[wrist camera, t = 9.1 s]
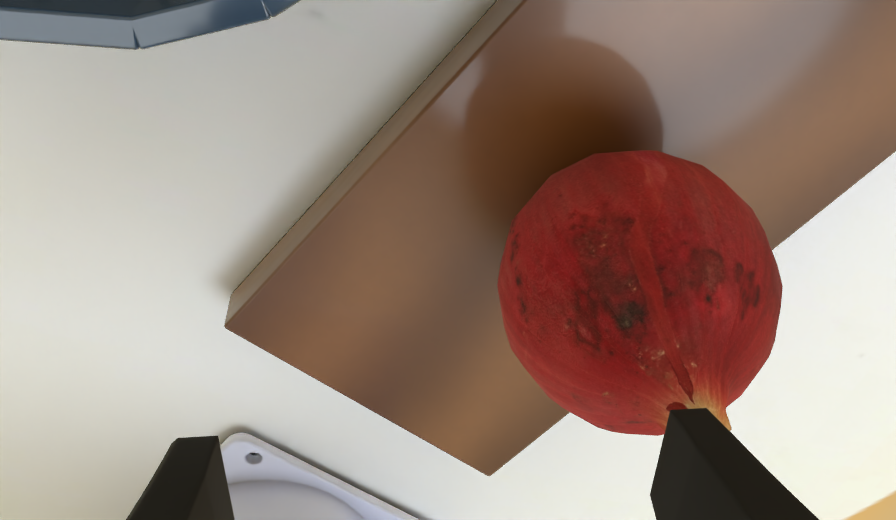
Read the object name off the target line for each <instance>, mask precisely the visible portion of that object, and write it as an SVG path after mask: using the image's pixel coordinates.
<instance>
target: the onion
mask: <svg viewBox="0 0 896 520" xmlns="http://www.w3.org/2000/svg"><path fill="white" fill-rule="evenodd" d="M497 287H498V293H499V299H500V305H501V311H502V317H503V324H504V328H505V331H506V334H507V338H508V341H509V344H510V347H511V349H512V351H513V352H514V354H515V355H516V356H517V358H518V359H519V361H520V362H521V364H522V365H523V367H524V368H525V369H526V370H527V371H528V373H529V374H530V375H531V376H532V378H533V379H534V380H535V381H536V382H537V384H538V385H539V386H540V387H541V389H542V390H543V391H544V392H545V393H546V395H547V396H548V397H549V398H550V399H552V400H553V401H554V402H556V403H557V404H558V405H560V406H561V407H562V408H564V409H566V410H567V411H569V412H571V413H573V414H575V415H576V416H578V417H580V418H582V419H584V420H585V421H587V422H589V423H591V424H593V425H595V426H596V427H598V428H602V429H605V430H608V431H612V432H618V433H625V434H640V435H657V436H658V435H663V434H665V430H666V425H667V421H668V417H669V413H670V410H677V409H695V408H707V409H708V410H709V411H710V412H711V413H712V414H713V415H714V416H715V417H716V418H717V419H718V420H719V421H720V422H721V423H722V424H723V425H724V426H725V427H726V428H727V429H728V430H729V431H730V430H731V426H730V423H729V420H728V417H727V414H726V407H727V406H728V405H730V404H731V403H732V402H733V401H735V400H736V399H737V398H738V397H740V396H741V395H742V394H743V392H744V391H745V389H746V388H747V387H748V385H749V384H750V383H751V381H752V380H753V379H754V377H755V376H756V375H757V373H758V372H759V370H760V369H761V368H762V366H763V365H764V363H765V362H766V360H767V359H768V357H769V355H770V353H771V350H772V347H773V344H774V341H775V336H776V330H777V325H778V319H779V313H780V308H781V298H782V283H781V279H780V274H779V270H778V266H777V263H776V260H775V258H774V255H773V252H772V250H771V247H770V244H769V241H768V239H767V236H766V233H765V231H764V229H763V227H762V225H761V224H760V222H759V220H758V218H757V216H756V215H755V213H754V211H753V209H752V208H751V207H750V206H749V205H748V204H747V203H746V202H745V201H744V200H743V199H742V198H741V197H740V196H739V195H737V194H736V193H735V192H734V191H733V190H732V189H731V188H730V187H729V186H728V185H727V184H726V183H725V182H724V181H723V180H722V179H720V178H719V177H718V176H716V175H715V174H714V173H712V172H711V171H710V170H708V169H707V168H706V167H704V166H703V165H700V164H697V163H694V162H691V161H688V160H685V159H681V158H678V157H675V156H672V155H669V154H666V153H663V152H660V151H651V150H639V151H624V152H609V153H594V154H592V155H590V156H588V157H586V158H584V159H582V160H580V161H578V162H576V163H574V164H572V165H570V166H568V167H566V168H564V169H562V170H560V171H558V172H556V173H554V174H552V175H551V176H550V177H549V178H548V179H547V180H546V181H545V183H544V184H543V185H542V186H541V187H540V188H539V190H538V191H537V192H536V193H535V194H534V195H533V197H532V198H531V199H530V200H529V201H528V202H527V204H526V205H525V206H524V207H523V208H522V209H521V211H520V212H519V213H518V214H517V215H516V216H515V218H514V219H513V220H512V222H511V226H510V230H509V233H508V237H507V241H506V245H505V249H504V252H503V256H502V260H501V264H500V271H499V277H498V284H497Z"/></svg>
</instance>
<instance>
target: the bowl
mask: <svg viewBox="0 0 896 520" xmlns="http://www.w3.org/2000/svg"><path fill="white" fill-rule="evenodd" d="M299 1H301V0H0V40H9V41H22V42H36V43H50V44H64V45H77V46H91V47H105V48H119V49H133V50H137V49H139V48H141V49H147V48H151V47H155V46H160V45H164V44H168V43H172V42H176V41H181V40H185V39H189V38H193V37H197V36H202V35H206V34H210V33H214V32H218V31H222V30H227V29H231V28H235V27H239V26H243V25H248V24H252V23H256V22H260V21H264V20H268V19H269V18H271V16H272V17H275V16H277V15H279V14H280V13H282V12H283V11H285V10H287V9H288V8H290V7H291V6H293V5H294V4H296V3H298V2H299Z"/></svg>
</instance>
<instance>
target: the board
mask: <svg viewBox="0 0 896 520" xmlns="http://www.w3.org/2000/svg"><path fill="white" fill-rule="evenodd" d="M639 150H651V151H660V152H663V153H666V154H669V155H672V156H675V157H678V158H681V159H685V160H688V161H691V162H694V163H697V164H700V165H703V166H704V167H706V168H707V169H708V170H710V171H711V172H712V173H714V174H715V175H716V176H718V177H719V178H720V179H722V180H723V181H724V182H725V183H726V184H727V185H728V186H729V187H730V188H731V189H732V190H733V191H734V192H735V193H736V194H737V195H739V196H740V197H741V198H742V199H743V200H744V201H745V202H746V203H747V204H748V205H749V206H750V207H751V208H752V209H753V211H754V213H755V215H756V216H757V218H758V220H759V222H760V224H761V225H762V227H763V229H764V231H765V233H766V236H767V239H768V241H769V244H770V247H771V250H773V249H774V248H775V247H777V246H778V245H779V244H780V243H782V242H783V241H784V240H785V239H787V238H788V237H789V236H790V235H792V234H793V233H794V232H795V231H797V230H798V229H799V228H800V227H802V226H803V225H804V224H805V223H807V222H808V221H809V220H810V219H812V218H813V217H814V216H815V215H817V214H818V213H819V212H820V211H822V210H823V209H824V208H825V207H827V206H828V205H829V204H830V203H832V202H833V201H834V200H835V199H837V198H838V197H839V196H840V195H842V194H843V193H844V192H845V191H847V190H848V189H849V188H850V187H852V186H853V185H854V184H855V183H857V182H858V181H859V180H860V179H861V178H863V177H864V176H865V175H866V174H868V173H869V172H870V171H871V170H873V169H874V168H875V167H876V166H878V165H879V164H880V163H881V162H883V161H884V160H885V159H886V158H888V157H889V156H890V155H891V154H893V153H894V152H895V151H896V0H497V1H496V2H495V3H494V4H493V6H492V7H491V8H490V9H489V10H488V11H487V12H486V13H485V14H484V15H483V17H482V18H481V19H480V20H479V21H478V22H477V23H476V24H475V25H474V27H473V28H472V29H471V30H470V31H469V32H468V33H467V34H466V35H465V37H464V38H463V39H462V40H461V41H460V42H459V43H458V44H457V45H456V46H455V48H454V49H453V50H452V51H451V52H450V53H449V54H448V55H447V56H446V58H445V59H444V60H443V61H442V62H441V63H440V64H439V65H438V66H437V67H436V69H435V70H434V71H433V72H432V73H431V74H430V75H429V76H428V77H427V79H426V80H425V81H424V82H423V83H422V84H421V85H420V86H419V87H418V89H417V90H416V91H415V92H414V93H413V94H412V95H411V96H410V97H409V98H408V100H407V101H406V102H405V103H404V104H403V105H402V106H401V107H400V108H399V110H398V111H397V112H396V113H395V114H394V115H393V116H392V117H391V118H390V120H389V121H388V122H387V123H386V124H385V125H384V126H383V127H382V128H381V129H380V131H379V132H378V133H377V134H376V135H375V136H374V137H373V138H372V139H371V141H370V142H369V143H368V144H367V145H366V146H365V147H364V148H363V149H362V151H361V152H360V153H359V154H358V155H357V156H356V157H355V158H354V159H353V160H352V162H351V163H350V164H349V165H348V166H347V167H346V168H345V169H344V170H343V172H342V173H341V174H340V175H339V176H338V177H337V178H336V179H335V180H334V182H333V183H332V184H331V185H330V186H329V187H328V188H327V189H326V190H325V191H324V193H323V194H322V195H321V196H320V197H319V198H318V199H317V200H316V201H315V203H314V204H313V205H312V206H311V207H310V208H309V209H308V210H307V211H306V213H305V214H304V215H303V216H302V217H301V218H300V219H299V220H298V221H297V222H296V224H295V225H294V226H293V227H292V228H291V229H290V230H289V231H288V232H287V234H286V235H285V236H284V237H283V238H282V239H281V240H280V241H279V242H278V244H277V245H276V246H275V247H274V248H273V249H272V250H271V251H270V252H269V253H268V255H267V256H266V257H265V258H264V259H263V260H262V261H261V262H260V263H259V265H258V266H257V267H256V268H255V269H254V270H253V271H252V272H251V273H250V275H249V276H248V277H247V278H246V279H245V280H244V281H243V282H242V283H241V284H240V286H239V287H238V288H237V289H236V290H235V291H234V292H233V293H232V294H231V298H230V302H229V307H228V311H227V316H226V320H225V325H224V326H225V328H226V329H228V330H230V331H231V332H233V333H235V334H237V335H238V336H240V337H242V338H244V339H246V340H247V341H249V342H251V343H253V344H254V345H256V346H258V347H260V348H262V349H263V350H265V351H267V352H269V353H270V354H272V355H274V356H276V357H278V358H279V359H281V360H283V361H285V362H286V363H288V364H290V365H292V366H294V367H295V368H297V369H299V370H301V371H302V372H304V373H306V374H308V375H309V376H311V377H313V378H315V379H317V380H318V381H320V382H322V383H324V384H325V385H327V386H329V387H331V388H333V389H334V390H336V391H338V392H340V393H341V394H343V395H345V396H347V397H349V398H350V399H352V400H354V401H356V402H357V403H359V404H361V405H363V406H365V407H366V408H368V409H370V410H372V411H373V412H375V413H377V414H379V415H380V416H382V417H384V418H386V419H388V420H389V421H391V422H393V423H395V424H396V425H398V426H400V427H402V428H404V429H405V430H407V431H409V432H411V433H412V434H414V435H416V436H418V437H420V438H421V439H423V440H425V441H427V442H428V443H430V444H432V445H434V446H436V447H437V448H439V449H441V450H443V451H444V452H446V453H448V454H450V455H452V456H453V457H455V458H457V459H459V460H460V461H462V462H464V463H466V464H467V465H469V466H471V467H473V468H475V469H476V470H478V471H480V472H482V473H483V474H485V475H487V476H491V475H492V474H493V473H495V472H496V471H497V470H498V469H500V468H501V467H502V466H503V465H505V464H506V463H507V462H508V461H510V460H511V459H512V458H513V457H515V456H516V455H517V454H518V453H520V452H521V451H522V450H523V449H525V448H526V447H527V446H528V445H530V444H531V443H532V442H533V441H535V440H536V439H537V438H538V437H540V436H541V435H542V434H543V433H545V432H546V431H547V430H548V429H550V428H551V427H552V426H553V425H554V424H556V423H557V422H558V421H559V420H561V419H562V418H563V417H564V416H566V415H567V414H568V413H569V411H567V410H566V409H564V408H562V407H561V406H560V405H558V404H557V403H556V402H554V401H553V400H552V399H550V398H549V397H548V396H547V395H546V393H545V392H544V391H543V390H542V389H541V387H540V386H539V385H538V384H537V382H536V381H535V380H534V379H533V378H532V376H531V375H530V374H529V373H528V371H527V370H526V369H525V368H524V367H523V365H522V364H521V362H520V361H519V359H518V358H517V356H516V355H515V354H514V352H513V351H512V349H511V347H510V344H509V341H508V338H507V334H506V331H505V328H504V324H503V317H502V311H501V305H500V299H499V293H498V287H497V284H498V277H499V271H500V264H501V260H502V256H503V252H504V249H505V245H506V241H507V237H508V233H509V230H510V226H511V222H512V220H513V219H514V218H515V216H516V215H517V214H518V213H519V212H520V211H521V209H522V208H523V207H524V206H525V205H526V204H527V202H528V201H529V200H530V199H531V198H532V197H533V195H534V194H535V193H536V192H537V191H538V190H539V188H540V187H541V186H542V185H543V184H544V183H545V181H546V180H547V179H548V178H549V177H550V176H551V175H552V174H554V173H556V172H558V171H560V170H562V169H564V168H566V167H568V166H570V165H572V164H574V163H576V162H578V161H580V160H582V159H584V158H586V157H588V156H590V155H592V154H594V153H609V152H624V151H639Z"/></svg>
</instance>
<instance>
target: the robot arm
mask: <svg viewBox="0 0 896 520" xmlns="http://www.w3.org/2000/svg"><path fill="white" fill-rule="evenodd" d="M250 453H258V455H253V454H250ZM650 496H651V500H652V504H653V508H654V512H655V516H656V519H657V520H819V519H818V518H817V517H816V516H815V515H814V514H813V513H812V512H810V511H809V510H808V509H807V508H806V507H805V506H804V505H803V504H802V503H801V502H800V501H799V500H798V499H797V498H796V497H795V496H794V495H793V494H792V493H791V492H790V491H788V490H787V489H786V488H785V487H784V486H783V485H782V484H781V483H780V482H779V481H778V480H777V479H776V478H775V477H774V476H773V475H772V474H771V473H770V472H769V471H768V470H767V469H766V468H765V467H764V466H763V465H762V464H761V463H760V462H759V461H758V460H757V459H756V458H755V457H754V456H753V455H752V454H751V453H750V452H749V451H748V450H747V449H746V447H745V446H744V445H743V444H742V443H741V442H740V441H739V440H738V439H737V438H736V437H735V436H734V435H733V434H732V433H731V432H730V431H729V430H728V429H727V428H726V427H725V426H724V425H723V424H722V423H721V422H720V421H719V420H718V419H717V418H716V417H715V416H714V415H713V414H712V413H711V412H710V411H709V410H708V409H707V408H695V409H677V410H670V413H669V417H668V421H667V425H666V430H665V434H664V438H663V442H662V447H661V451H660V455H659V459H658V463H657V468H656V472H655V476H654V480H653V484H652V489H651V493H650ZM126 520H419V519H417V518H415V517H413V516H411V515H409V514H407V513H405V512H403V511H401V510H399V509H397V508H395V507H393V506H391V505H389V504H387V503H385V502H383V501H381V500H379V499H377V498H375V497H373V496H371V495H369V494H367V493H365V492H363V491H362V490H360V489H358V488H356V487H354V486H352V485H350V484H348V483H346V482H344V481H342V480H340V479H338V478H336V477H334V476H332V475H330V474H328V473H326V472H324V471H322V470H320V469H318V468H316V467H314V466H312V465H310V464H308V463H306V462H304V461H302V460H300V459H298V458H296V457H294V456H292V455H290V454H288V453H286V452H284V451H282V450H280V449H278V448H276V447H274V446H272V445H270V444H268V443H266V442H264V441H262V440H260V439H258V438H256V437H254V436H252V435H250V434H247V433H236V434H232V435H231V436H229V437H228V438H227V439H226V440H225V441H224V442H223V443H222V444H221V445H220V444H219V439H218V436H206V437H188V438H177V439H176V440H175V441H174V442H173V443H172V444H171V446H170V447H169V449H168V451H167V453H166V455H165V456H164V458H163V460H162V462H161V463H160V465H159V467H158V469H157V470H156V472H155V474H154V476H153V477H152V479H151V481H150V482H149V484H148V486H147V487H146V489H145V491H144V492H143V494H142V495H141V497H140V499H139V500H138V502H137V503H136V505H135V507H134V508H133V510H132V511H131V513H130V515H129V516H128V518H127V519H126Z"/></svg>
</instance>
